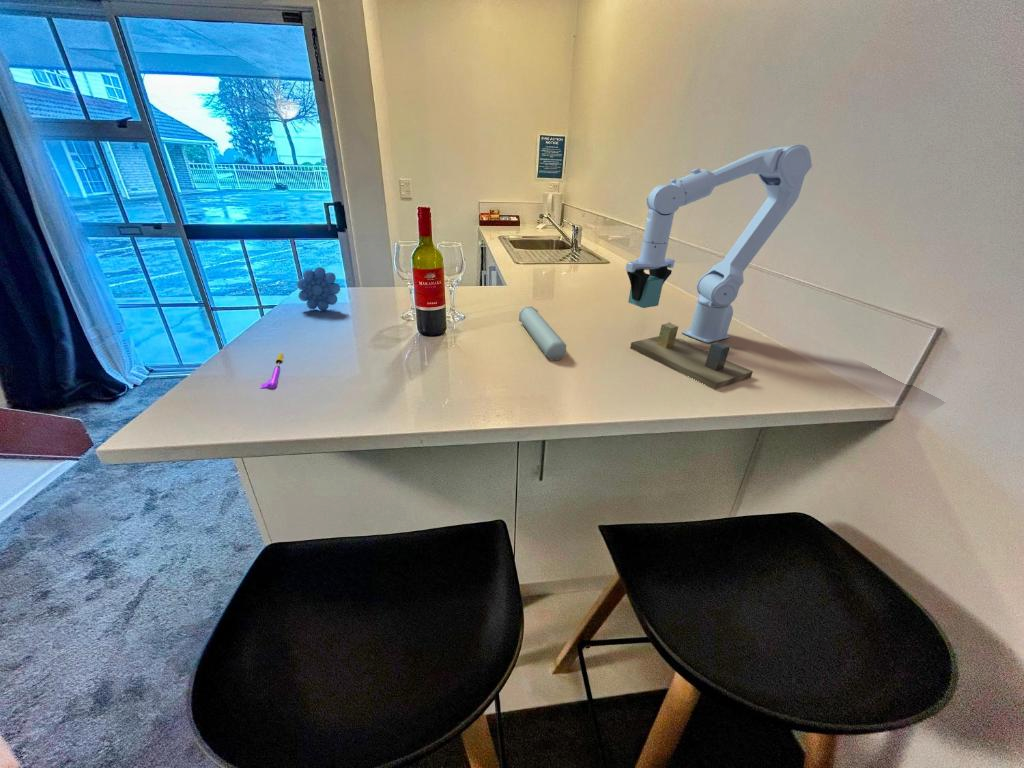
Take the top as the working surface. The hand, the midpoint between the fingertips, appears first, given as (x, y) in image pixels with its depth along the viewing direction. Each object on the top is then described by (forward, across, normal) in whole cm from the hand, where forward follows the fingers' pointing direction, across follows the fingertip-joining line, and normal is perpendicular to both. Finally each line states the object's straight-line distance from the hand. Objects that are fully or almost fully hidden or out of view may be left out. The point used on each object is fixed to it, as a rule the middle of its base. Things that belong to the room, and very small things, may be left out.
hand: (644, 298), depth 100 cm
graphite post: (+8, +3, +25) cm, 26 cm away
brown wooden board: (+9, +3, +18) cm, 21 cm away
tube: (+10, +26, -7) cm, 29 cm away
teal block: (+1, 0, 0) cm, 1 cm away
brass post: (+8, +3, +12) cm, 14 cm away
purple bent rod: (+10, +83, -16) cm, 86 cm away
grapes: (+10, +69, -52) cm, 87 cm away
